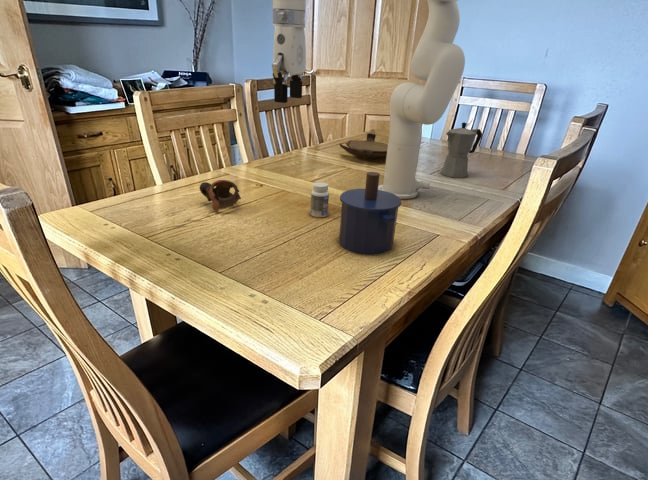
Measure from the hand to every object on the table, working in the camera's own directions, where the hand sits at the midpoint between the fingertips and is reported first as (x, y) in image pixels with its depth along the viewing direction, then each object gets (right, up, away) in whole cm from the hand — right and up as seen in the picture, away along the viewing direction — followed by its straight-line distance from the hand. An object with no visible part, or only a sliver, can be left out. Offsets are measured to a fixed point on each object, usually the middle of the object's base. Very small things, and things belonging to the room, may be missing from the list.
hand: (288, 99), depth 109 cm
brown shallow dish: (+28, +6, +68) cm, 74 cm away
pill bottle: (+8, -27, +10) cm, 30 cm away
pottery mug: (-20, -25, +12) cm, 34 cm away
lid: (+19, -27, -10) cm, 35 cm away
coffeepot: (+58, -6, +51) cm, 77 cm away
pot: (+19, -36, -5) cm, 41 cm away
